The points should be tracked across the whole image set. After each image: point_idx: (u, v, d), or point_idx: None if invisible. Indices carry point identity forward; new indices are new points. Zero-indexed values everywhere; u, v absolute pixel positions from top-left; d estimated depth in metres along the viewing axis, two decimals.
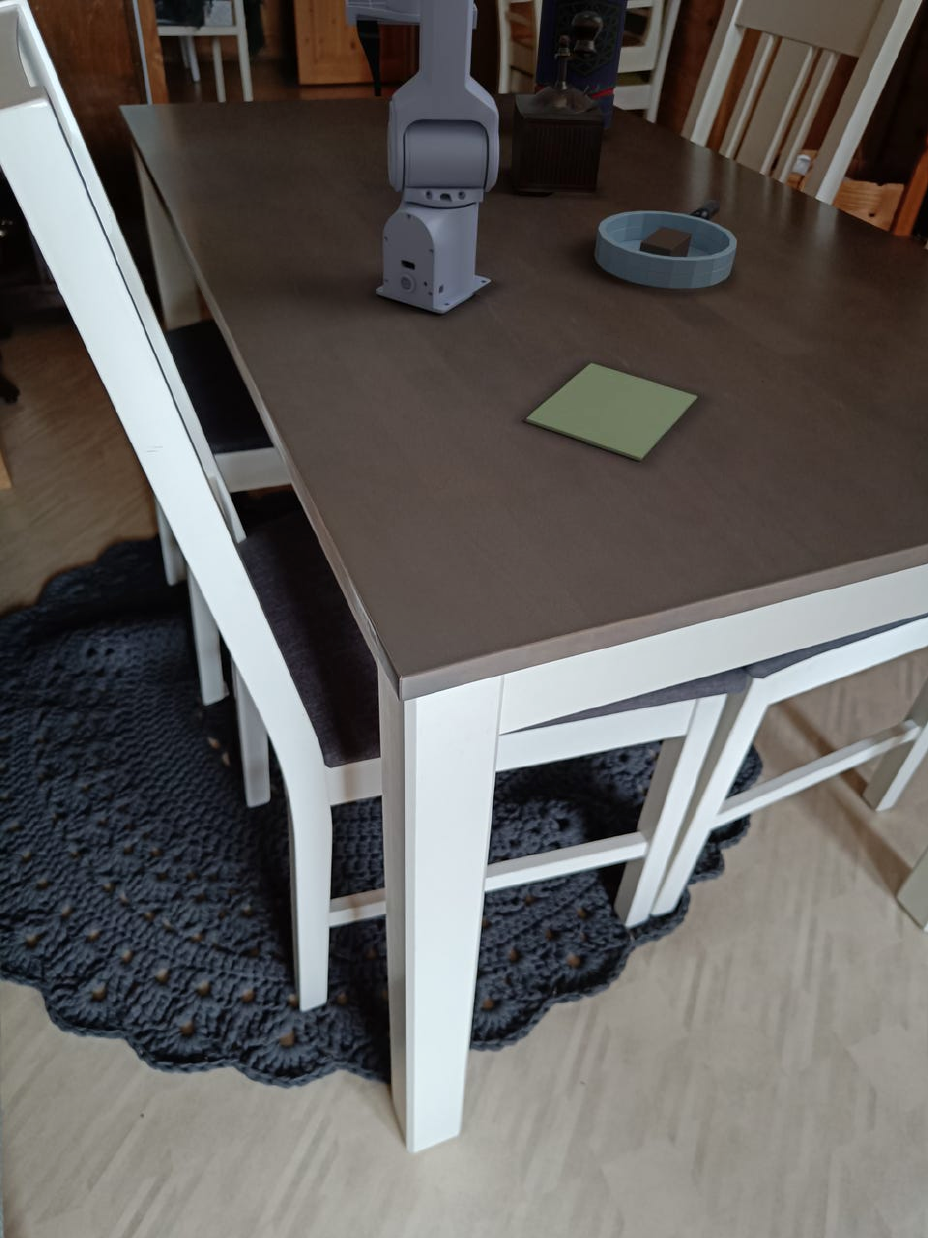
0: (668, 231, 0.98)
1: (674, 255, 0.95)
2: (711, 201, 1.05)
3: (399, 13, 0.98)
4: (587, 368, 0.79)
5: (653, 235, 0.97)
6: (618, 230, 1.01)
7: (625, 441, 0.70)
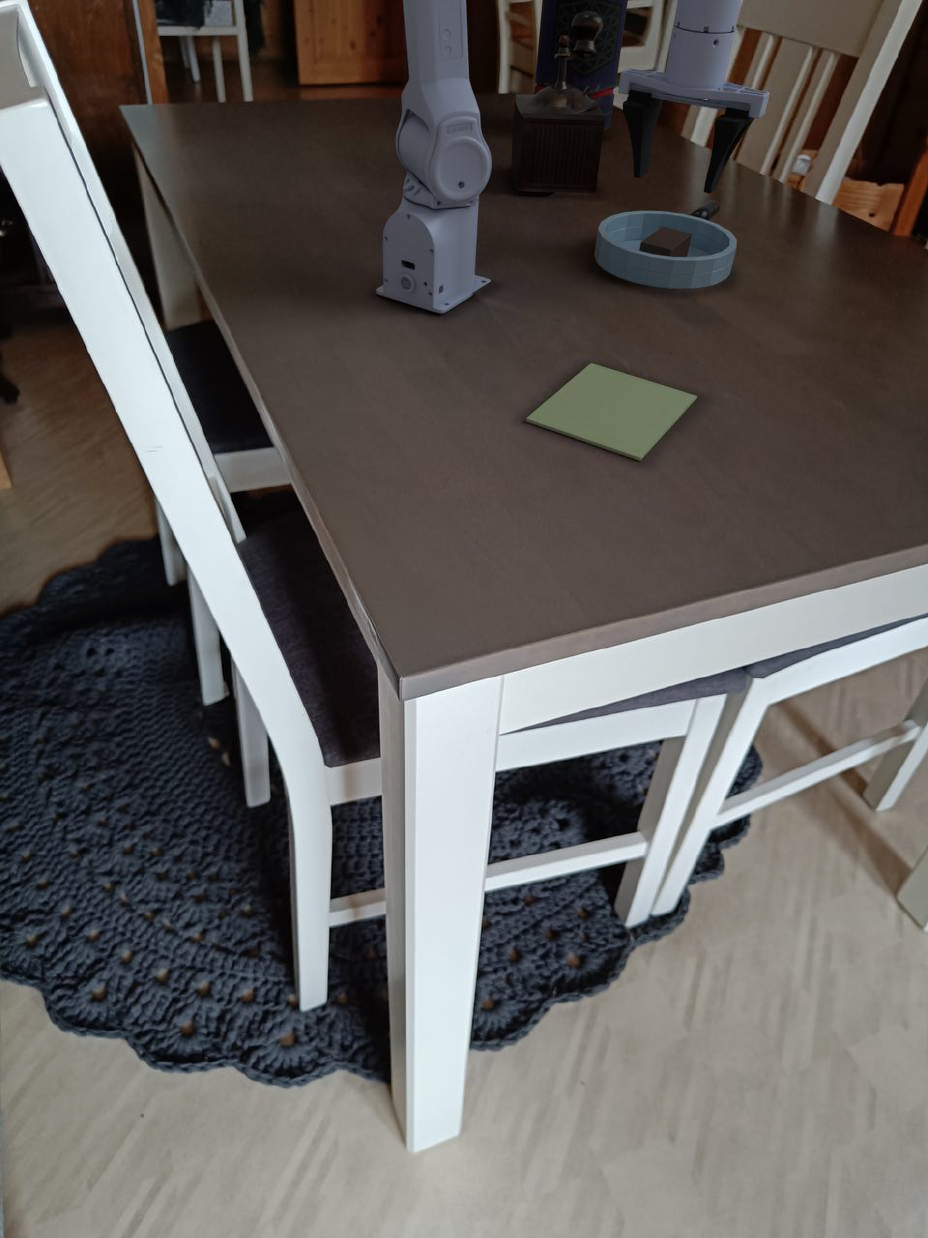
0: (668, 231, 0.98)
1: (674, 255, 0.95)
2: (711, 201, 1.05)
3: (668, 84, 0.86)
4: (587, 368, 0.79)
5: (653, 235, 0.97)
6: (618, 230, 1.01)
7: (625, 441, 0.70)
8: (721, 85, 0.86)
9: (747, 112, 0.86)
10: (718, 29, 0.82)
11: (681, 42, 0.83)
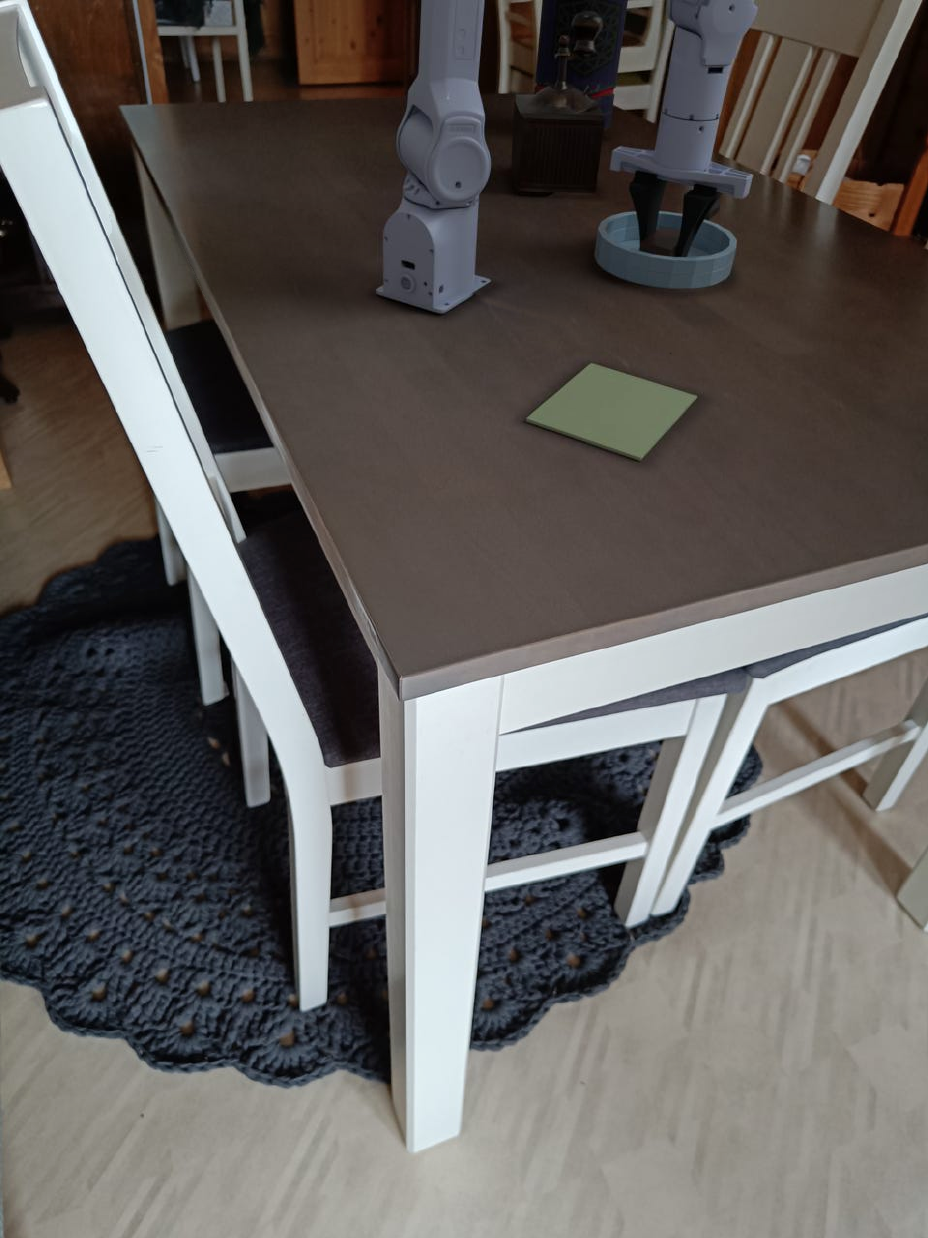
0: (668, 231, 0.98)
1: (674, 255, 0.95)
2: None
3: (656, 165, 0.90)
4: (587, 368, 0.79)
5: (653, 235, 0.97)
6: (618, 230, 1.01)
7: (625, 441, 0.70)
8: (707, 167, 0.90)
9: (714, 189, 0.90)
10: (703, 117, 0.86)
11: (668, 128, 0.88)
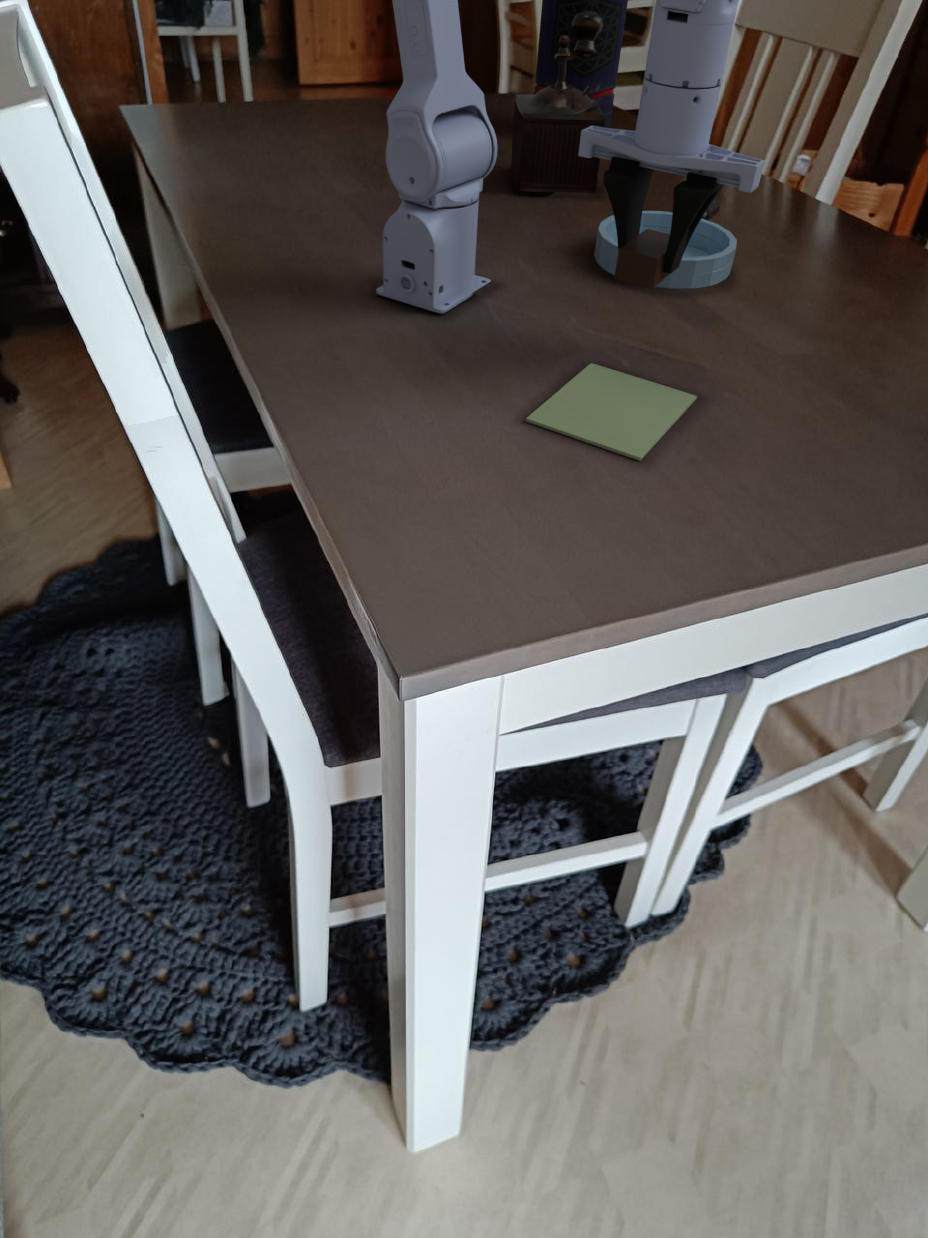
0: (654, 234, 0.77)
1: (662, 265, 0.74)
2: None
3: (638, 148, 0.69)
4: (587, 368, 0.79)
5: (635, 240, 0.76)
6: None
7: (625, 441, 0.70)
8: (704, 150, 0.69)
9: (713, 180, 0.69)
10: (661, 79, 0.65)
11: (653, 99, 0.66)
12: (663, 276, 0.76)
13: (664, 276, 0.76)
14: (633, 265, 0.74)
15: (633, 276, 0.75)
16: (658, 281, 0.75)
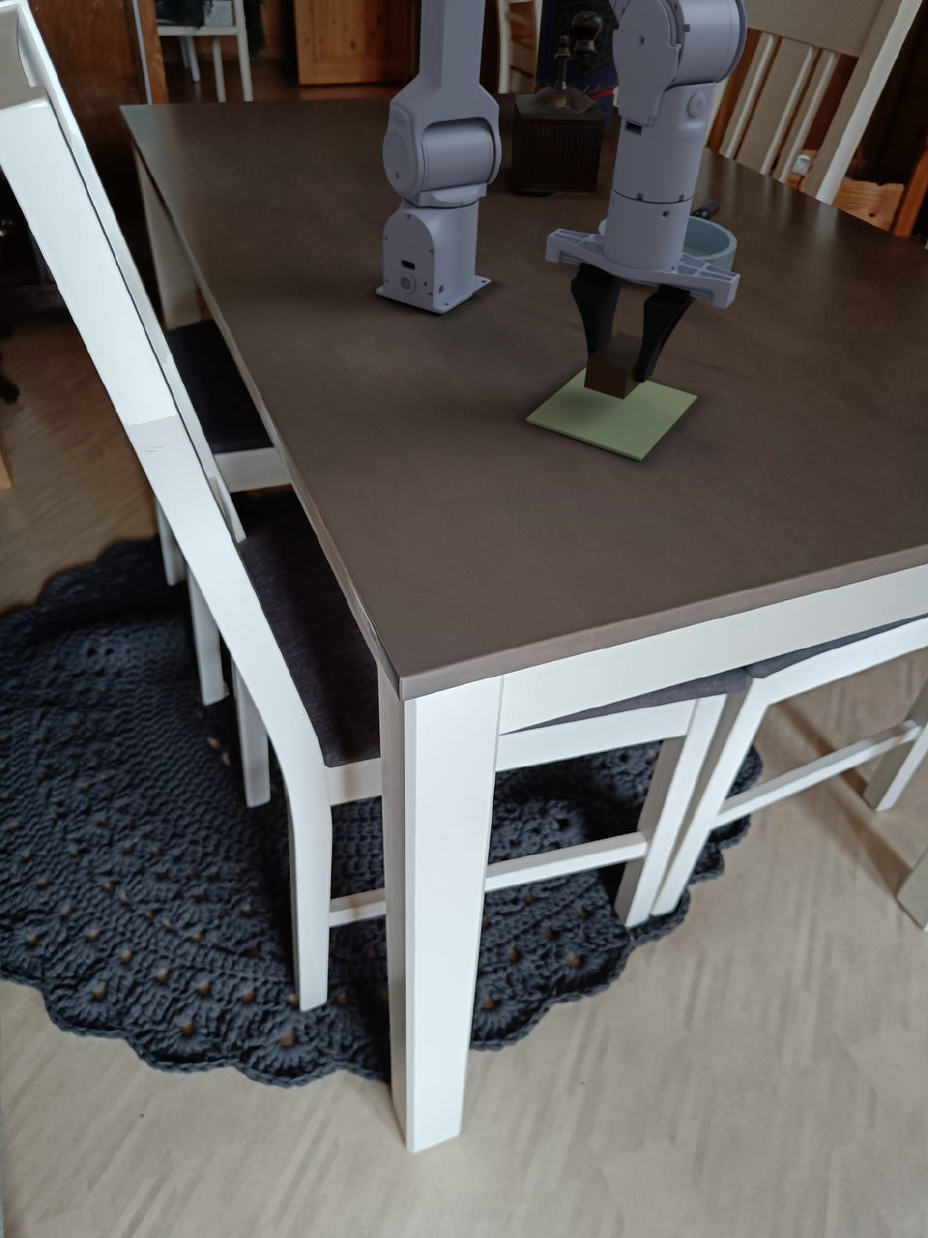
0: (627, 339, 0.73)
1: (634, 375, 0.70)
2: (711, 201, 1.05)
3: (606, 260, 0.65)
4: None
5: (606, 346, 0.71)
6: None
7: (625, 441, 0.70)
8: (676, 263, 0.65)
9: (686, 293, 0.65)
10: (618, 189, 0.62)
11: (621, 211, 0.62)
12: (636, 384, 0.71)
13: (636, 384, 0.72)
14: (603, 375, 0.70)
15: (603, 386, 0.70)
16: (630, 391, 0.71)
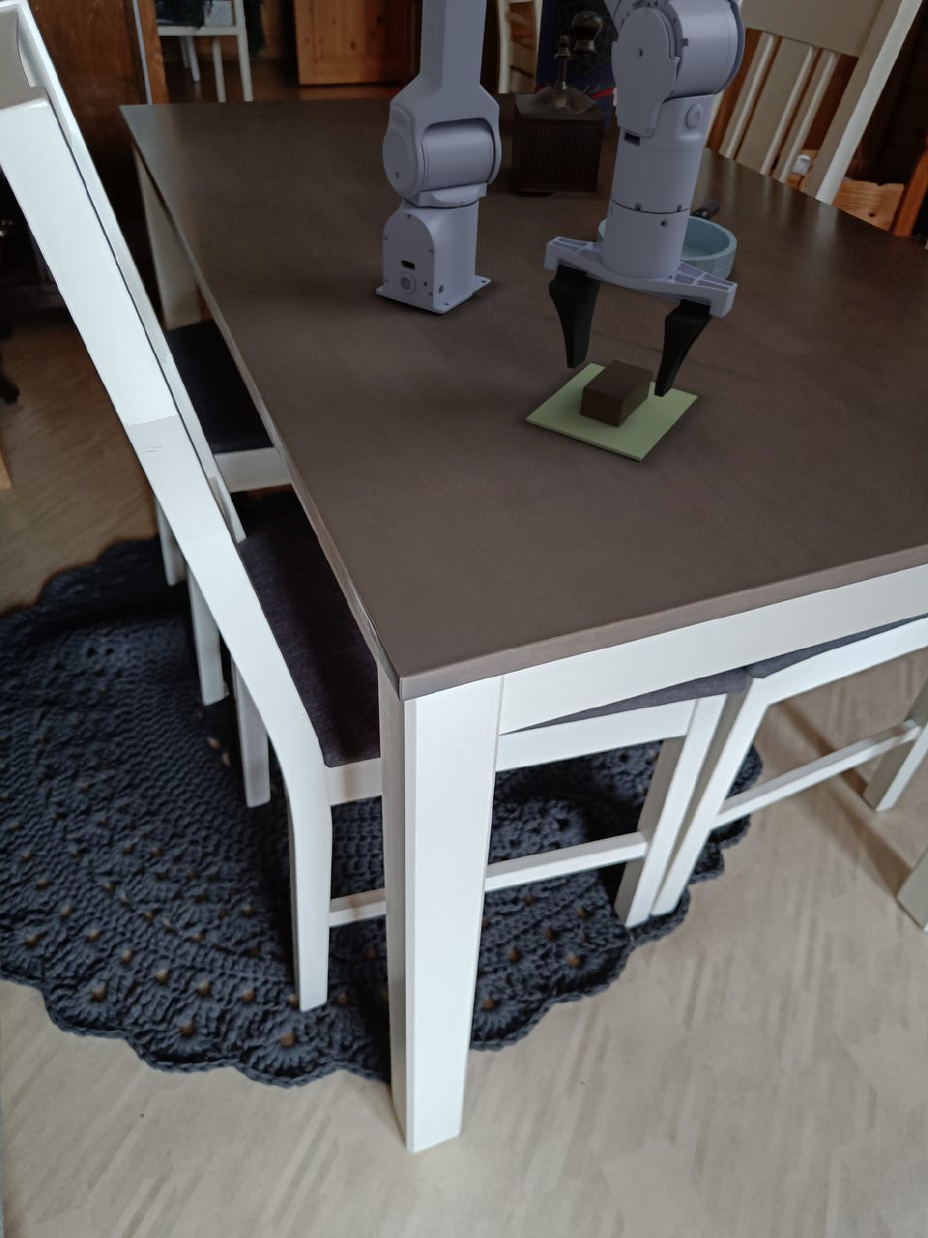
0: (622, 367, 0.74)
1: (628, 404, 0.72)
2: (711, 201, 1.05)
3: (604, 269, 0.65)
4: (587, 368, 0.79)
5: (601, 375, 0.73)
6: None
7: (625, 441, 0.70)
8: (674, 271, 0.65)
9: (707, 308, 0.65)
10: (617, 198, 0.62)
11: (619, 221, 0.63)
12: (630, 412, 0.73)
13: (631, 412, 0.73)
14: (598, 404, 0.72)
15: (598, 414, 0.72)
16: (624, 419, 0.72)
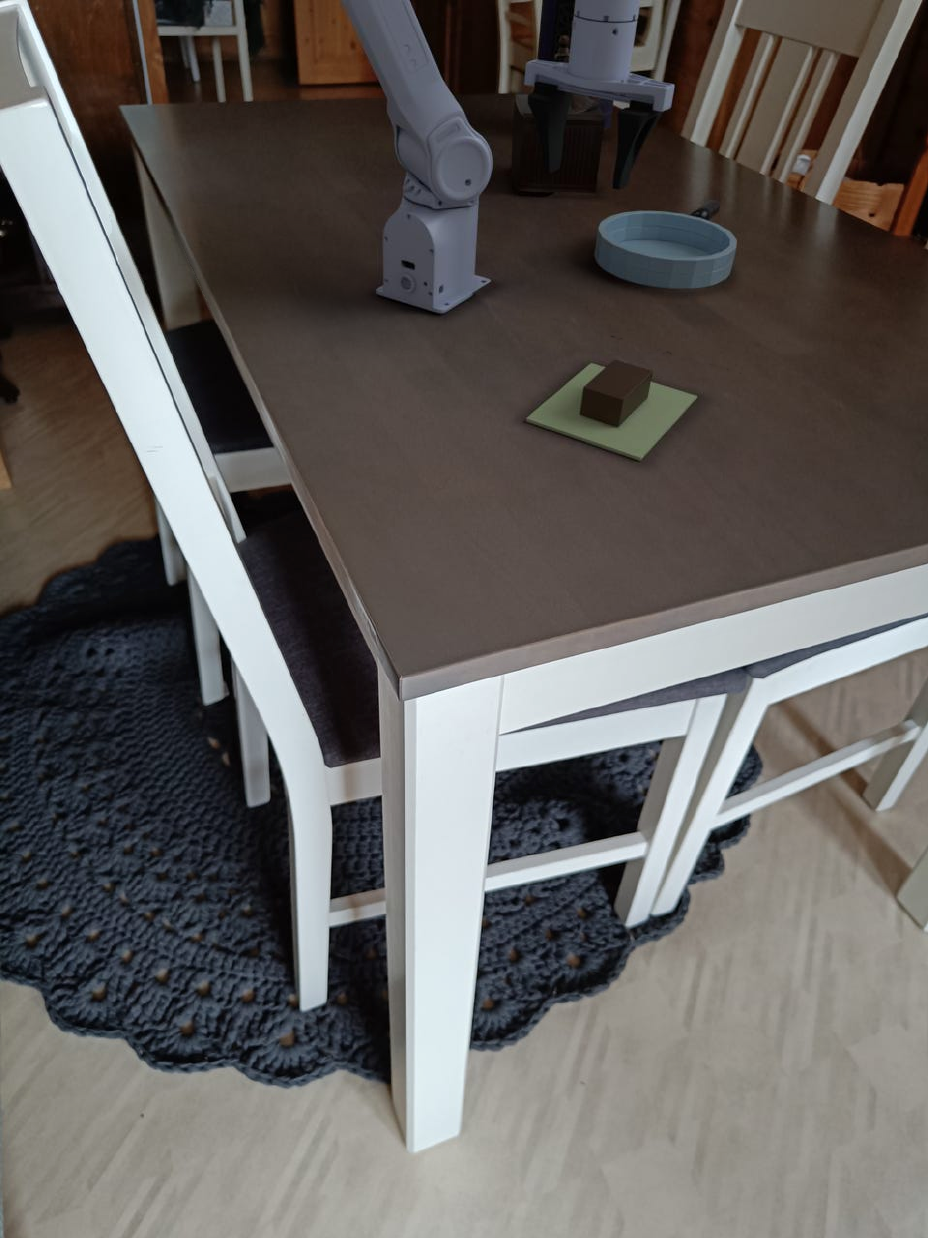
0: (622, 367, 0.74)
1: (628, 404, 0.72)
2: (711, 201, 1.05)
3: (570, 75, 0.83)
4: (587, 368, 0.79)
5: (601, 375, 0.73)
6: (618, 230, 1.01)
7: (625, 441, 0.70)
8: (625, 77, 0.83)
9: (651, 105, 0.82)
10: (618, 18, 0.79)
11: (580, 32, 0.80)
12: (630, 412, 0.73)
13: (631, 412, 0.73)
14: (598, 404, 0.72)
15: (598, 414, 0.72)
16: (624, 419, 0.72)
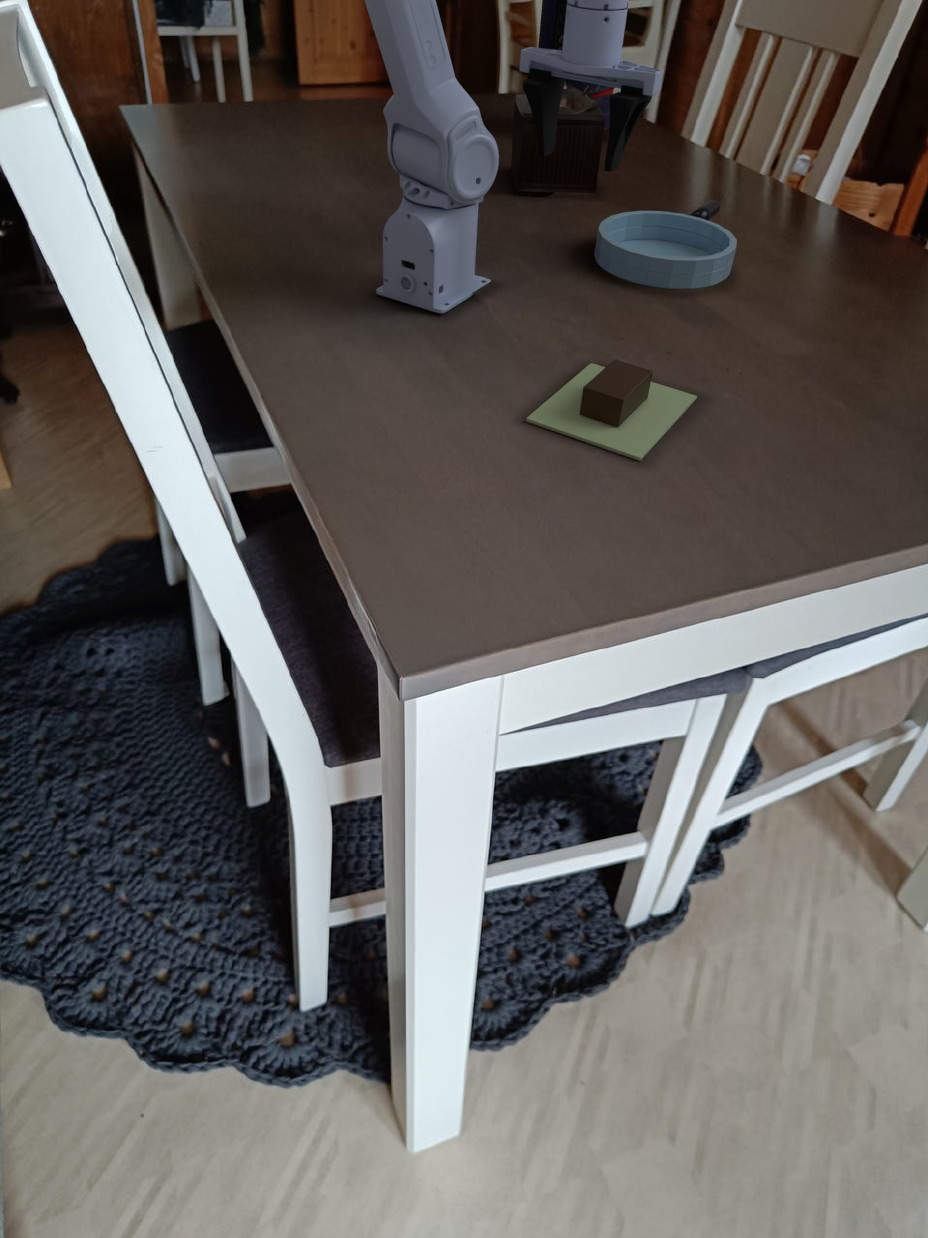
0: (622, 367, 0.74)
1: (628, 404, 0.72)
2: (711, 201, 1.05)
3: (563, 61, 0.87)
4: (587, 368, 0.79)
5: (601, 375, 0.73)
6: (618, 230, 1.01)
7: (625, 441, 0.70)
8: (616, 63, 0.86)
9: (641, 90, 0.86)
10: (617, 6, 0.83)
11: (573, 19, 0.84)
12: (630, 412, 0.73)
13: (631, 412, 0.73)
14: (598, 404, 0.72)
15: (598, 414, 0.72)
16: (624, 419, 0.72)
